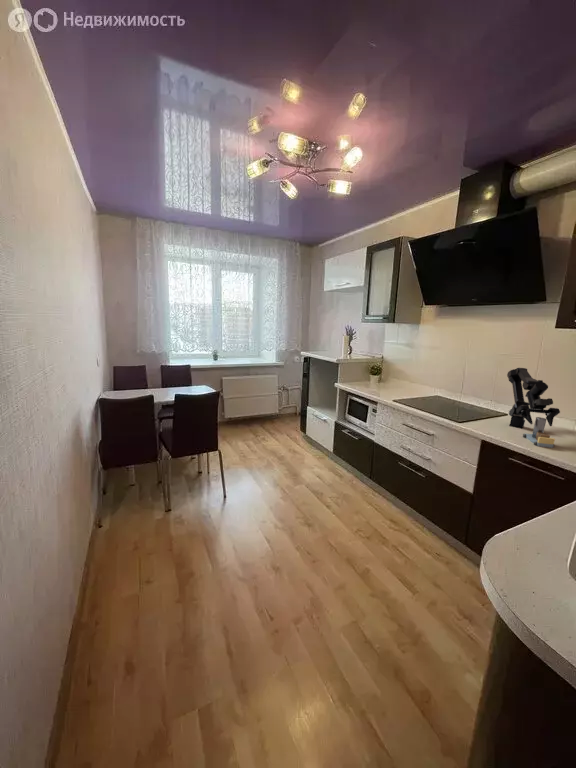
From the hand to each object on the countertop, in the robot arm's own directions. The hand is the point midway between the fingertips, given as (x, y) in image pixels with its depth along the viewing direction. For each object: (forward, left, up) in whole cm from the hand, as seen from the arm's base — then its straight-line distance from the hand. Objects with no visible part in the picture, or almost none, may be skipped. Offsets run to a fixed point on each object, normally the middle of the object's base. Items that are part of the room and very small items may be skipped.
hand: (541, 425), depth 168 cm
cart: (0, 0, -10) cm, 10 cm away
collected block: (+2, -3, -8) cm, 8 cm away
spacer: (-1, +1, -8) cm, 8 cm away
